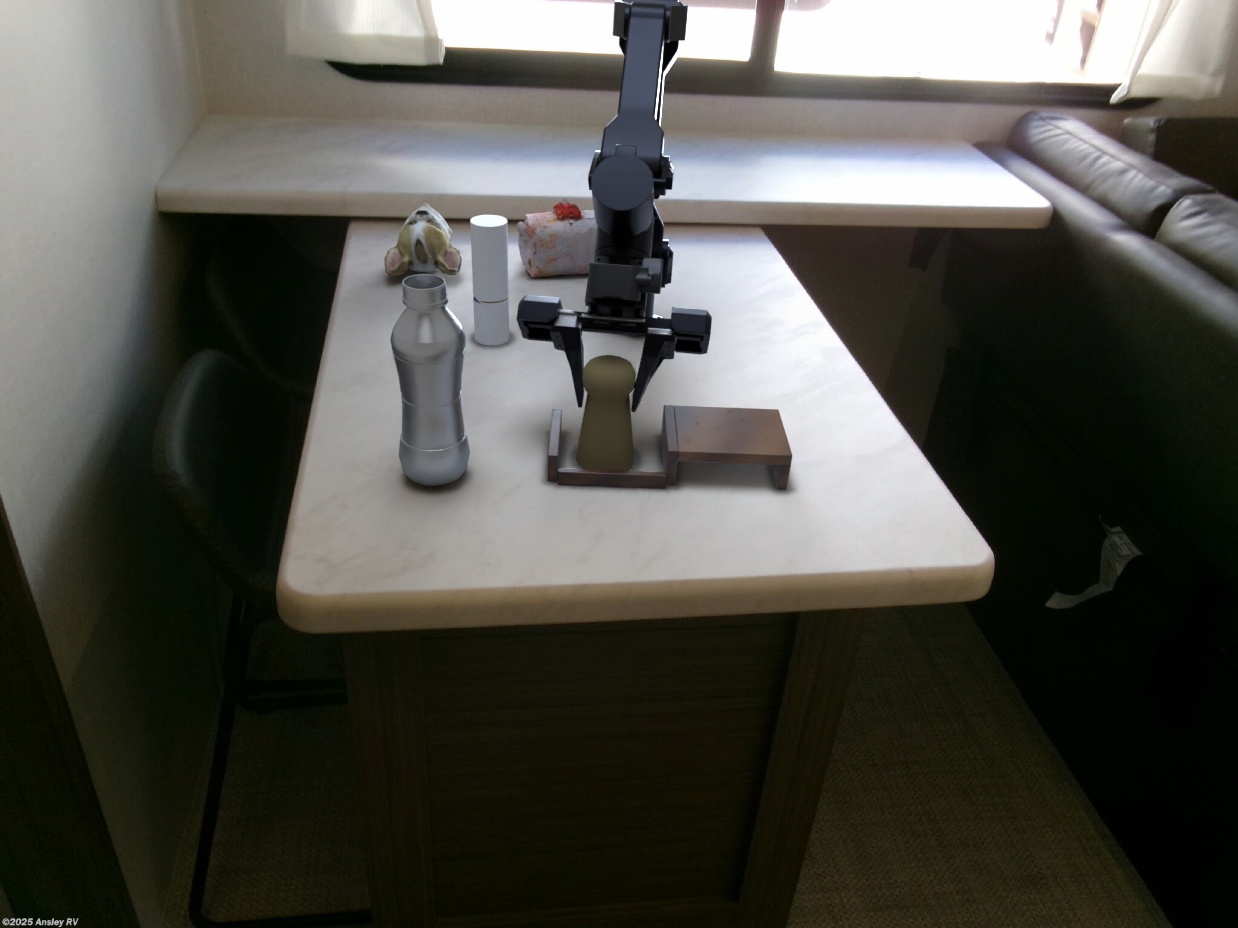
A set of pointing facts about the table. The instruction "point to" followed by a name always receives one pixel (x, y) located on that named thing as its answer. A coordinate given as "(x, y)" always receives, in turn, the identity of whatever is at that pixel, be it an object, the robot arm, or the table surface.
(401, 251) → the ceramic sculpture
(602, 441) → the olive green pawn
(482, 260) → the tube
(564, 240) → the food item
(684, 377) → the table surface
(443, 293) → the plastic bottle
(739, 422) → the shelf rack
